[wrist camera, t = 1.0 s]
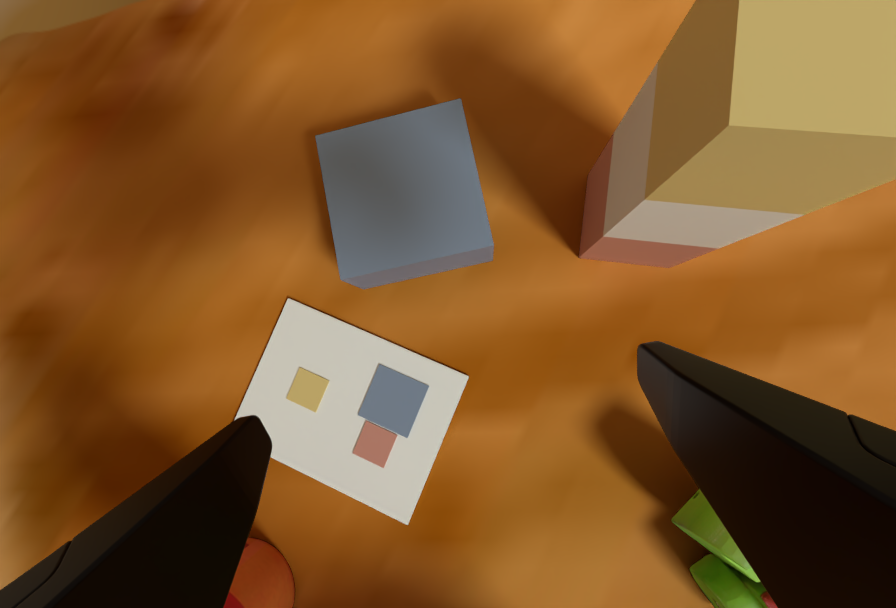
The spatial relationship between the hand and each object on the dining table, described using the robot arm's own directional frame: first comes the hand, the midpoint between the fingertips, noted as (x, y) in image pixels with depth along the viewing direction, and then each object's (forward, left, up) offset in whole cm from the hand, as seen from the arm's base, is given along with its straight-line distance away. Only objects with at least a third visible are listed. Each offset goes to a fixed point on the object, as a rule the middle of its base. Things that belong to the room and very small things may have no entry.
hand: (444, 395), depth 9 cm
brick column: (-3, -12, -14) cm, 18 cm away
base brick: (+8, -6, -14) cm, 17 cm away
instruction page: (+5, +6, -14) cm, 16 cm away
